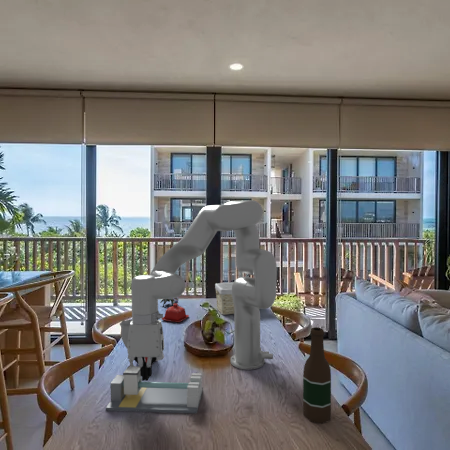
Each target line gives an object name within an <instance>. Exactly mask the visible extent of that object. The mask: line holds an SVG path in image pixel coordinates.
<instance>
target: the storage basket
mask: <svg viewBox="0 0 450 450" xmlns="http://www.w3.org/2000/svg"><path fill="white" fill-rule="evenodd" d="M233 283H234V281H233V282H219V283H217V282H216V283H215V284H214V286H215V287H214V289H215V295H216V296H215V297H216V309H217V310H218V311H219V313H220V314H221V315H223V316H224V315H225V316H227V315H234V304H233V298H232V285H233ZM260 309H261V308H259V310H260Z"/></svg>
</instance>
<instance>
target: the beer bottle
mask: <svg viewBox="0 0 450 450" xmlns="http://www.w3.org/2000/svg"><path fill="white" fill-rule="evenodd" d="M324 331H325V330H324V328H321V327H316V326H315V327H312V328H311V329H310V334H311V337H310V339H311V340H310V354H309V357H307V359H306V360H305V363H304V365H303V366H304V367H303V373H302V395H303V396H302V398H303V399H302V402H303V403H302V408H303V409H302V412H303V417H305V418H306V419H307V420H308V421H309V422H311V423H315V424H325V423H327V422H330V421H331V418H332V417H331V416H332V415H331V414H332V371H331V367H330V364H329V361H328V360H327V359H326V358H325V357H326V356H325V350H324V347H325V346H324V335H325V332H324Z"/></svg>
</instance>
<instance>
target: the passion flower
mask: <svg viewBox="0 0 450 450" xmlns="http://www.w3.org/2000/svg"><path fill="white" fill-rule="evenodd" d="M167 302H171V303H170V304H171V305H173V304H174V303H177V304H179V297H177V298H173V299H161V301H160V302H159V303H160V304H162V303H163V304H162V305H163V306H162V307H164V306H165V305H166V304H167Z"/></svg>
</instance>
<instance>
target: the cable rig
mask: <svg viewBox="0 0 450 450" xmlns="http://www.w3.org/2000/svg"><path fill="white" fill-rule="evenodd" d="M202 376H203V375H202V373H201V372H200V373H199V372H198V373H197V372H196V373H195V372H192V373H191V375H190V381H189V382H175V381H174V382H171V381H170V382H167V381H166V382H165V381H142V382H138V387H139V388H141V390H140V391H139V393H138V395H128V394H124V375H123V374H116V375H115V376H114V378H113V379H112V381H111V382H110V384H109V385H110V401H109V403H108V404H107V405H106V407H105V411H110V412H111V411H112V412H114V411H115V412H139V413H141V412H145V413H170V414H171V413H173V414H177V413H178V414H198V412H199V406H200V403H201V399H202V394H203V388H204V387H203V377H202Z"/></svg>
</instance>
